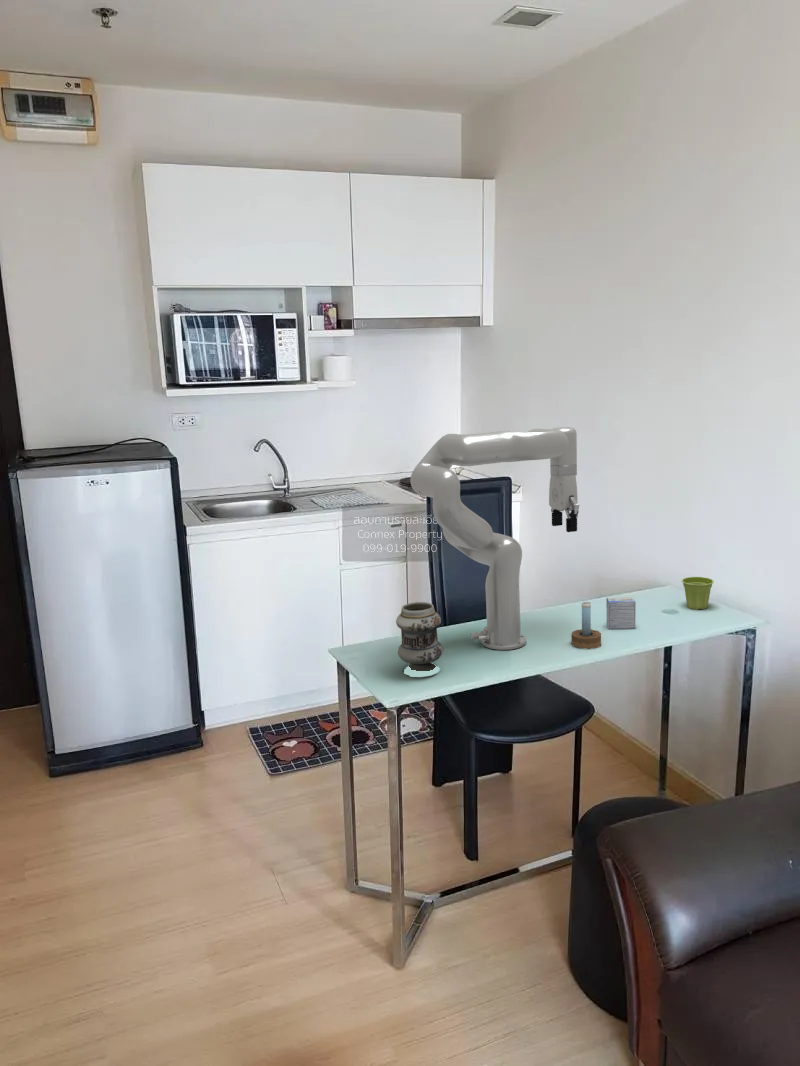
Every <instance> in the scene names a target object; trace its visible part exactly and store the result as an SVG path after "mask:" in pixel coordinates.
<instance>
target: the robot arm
mask: <svg viewBox="0 0 800 1066" xmlns="http://www.w3.org/2000/svg"><path fill="white" fill-rule="evenodd" d="M577 435H578V434H577V430H576V428H574V427H570V426H559V427H554V428H547V429H546V428H533V429H530V430H528V431H527V432H522V431H521V432H519V431H509V430H508V431H507V430H506V431H505V430H504V431H503V430H502V431H499V430H498V431H490V432H479V433H471V434H457V433H447V434H445V435H443V436H442V437H440V438H439V439H438V440H437V441H435V444H433V445H432V446H431V448H429V450H428V451H427V452H426V454H425V455H424V456H423V457H422V458H421V460H420V461H419V462H418V464H416V466H415V467H414V469H413V471H412V472H411V475H410V480H409V481H410V485H411V488H412V490H413V491H414V492H415V493H416V494H418V495H419V496H424V497H428V498H432V512H433V513H432V514H433V517H434V520H435V522H436V523H437V524H438V525H439V527H441V528H442V535H443V537H444V538H445V540H446V541H447V542H448V543H449V544H450V545H451V546H453V547H454V548H456V549H457V550H458V551H460V552H461V553H463V554H464V555H465V556H467V557H468V558H470V559H471V560H473V561H474V562H477V563H479V564H481V565H484V566H485V565H486V566H488V567H489V569H488V573H487V575H486V578H485V587H484V588H485V602H486V603H485V604H486V606H485V607H486V611H485V612H486V626H484V627H483V629H482V630H481V631H476V632H475V631H474V632H471V633H470V639H471V640H478V641H480V642H481V644H482V645H483V647H486V648H488V649H492V650H497V651H506V650H507V651H509V650H515V649H519V648H522V647H524V646H525V645H526V644H527V638H526V636H524V635H523V634H521V603H520V601H521V596H520V572H521V571H520V570H521V565H522V559H523V550H522V546H521V544H520V543H519V542H518V540H516V539H515V538H513V537H512V536H509V535H505V534H502V533H497V532H494V530H493V527H492V526H491V525H490V523H488V522H487V521H486V520H485V519H484V518H482V517H481V516H479V515H478V514H477V513H475V512H474V511H473V510H472V509H470V508H468V506H466V505H465V504H464V503H463V502H462V499H461V481H460V479H459V476H458V475H457V473H456V472H454V471H453V470H452V469H451V468H452V466H460V467H474V466H482V465H489V464H499V463H514V462H515V463H516V462H524V461H540V460H549V464H550V465H549V466H550V467H549V468H550V469H549V470H550V471H549V473H550V474H549V475H550V478H549V488H548V491H549V492H548V506H549V507H550V508H551V509H550V512H551V526H553V527H558V526H560V527H561V526H563V512H565V514H566V518H565V527H566V528H565V530H566V532H567V533H572V532H573V533H574V532H577V531H578V518H579V515H578V514H579V509H580V504H579V501H578V486H577V485H578V484H577V476H578V460H577V459H578V452H577V451H578V450H577V449H578V448H577V447H578V446H577V445H578V441H577V439H578V437H577Z"/></svg>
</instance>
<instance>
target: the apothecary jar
mask: <svg viewBox="0 0 800 1066" xmlns="http://www.w3.org/2000/svg"><path fill="white" fill-rule="evenodd" d="M400 610H401V611H400V614H398V616H397V617H396V619H395V625H396V626H397V627H398V628H399V629H400V631H401V644H400V645H398V646H399V647H398V648H397V655H398V657H399V659H400V660H401V661H403V662H404V663H407V664H409V667H410V668H411V670H416V671H430V670H433V669H434V668H435V667H436V666H435V665H434V664H435V663H433V662H435V661H438V660H439V658H441V656H443V653H444V647H443V645H442V643H441V642H440V641H439V637H438V627H439V626H440V625H441V623H442V622H441V621H442V616H441V615H440V613H438V612H437V611H436V610H435V607H434V604H432V603H430V602H426V601H425V602H424V601H419V602H418V601H416V602H410V603H406V604H404V605H402V606H401V609H400ZM432 663H433V664H432Z"/></svg>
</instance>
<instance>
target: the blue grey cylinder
mask: <svg viewBox="0 0 800 1066" xmlns="http://www.w3.org/2000/svg"><path fill="white" fill-rule="evenodd" d="M591 605H592V604H591V602H590V601H582V602H581V629H582V636H591V628H592V627H591V626H592V624H591V622H592V620H591V619H592V617H591V613H592V611H591V610H592V609H591Z"/></svg>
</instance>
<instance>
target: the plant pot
mask: <svg viewBox="0 0 800 1066" xmlns="http://www.w3.org/2000/svg"><path fill="white" fill-rule="evenodd" d="M681 583H682V585H683V587H684V593H685V599H686V601H685V602H686V606H687V608H689V609H690V608H691V610H705V609H707V608H709V607H708V605H709V602H710V595H711V590H712V589H711V588H712V587H713V584H714V579H712V578H709V577H702V576H689V577H684V578H683V579H681Z"/></svg>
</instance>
